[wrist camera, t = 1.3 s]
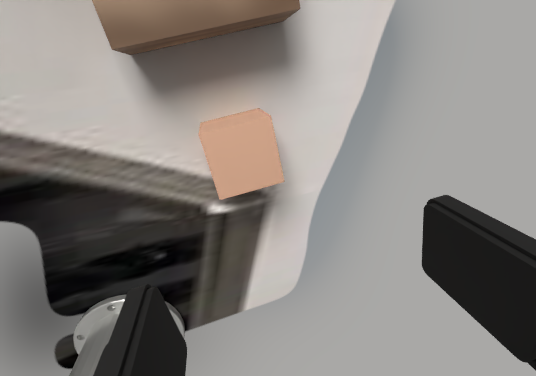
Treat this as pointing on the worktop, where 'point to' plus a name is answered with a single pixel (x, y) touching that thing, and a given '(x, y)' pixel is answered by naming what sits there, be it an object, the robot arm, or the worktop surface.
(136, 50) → the walnut stand
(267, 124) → the peach cube
